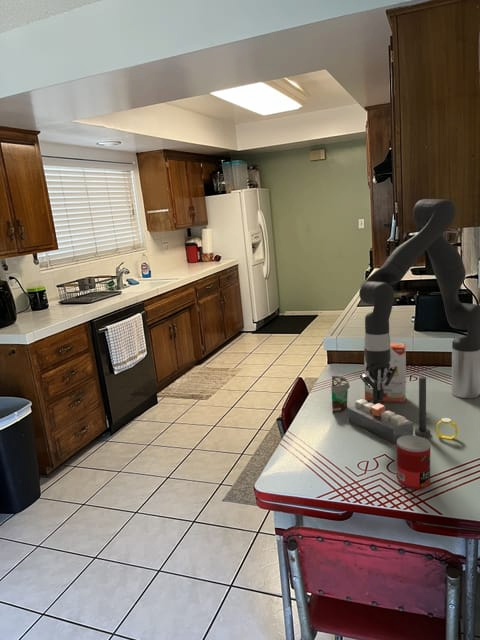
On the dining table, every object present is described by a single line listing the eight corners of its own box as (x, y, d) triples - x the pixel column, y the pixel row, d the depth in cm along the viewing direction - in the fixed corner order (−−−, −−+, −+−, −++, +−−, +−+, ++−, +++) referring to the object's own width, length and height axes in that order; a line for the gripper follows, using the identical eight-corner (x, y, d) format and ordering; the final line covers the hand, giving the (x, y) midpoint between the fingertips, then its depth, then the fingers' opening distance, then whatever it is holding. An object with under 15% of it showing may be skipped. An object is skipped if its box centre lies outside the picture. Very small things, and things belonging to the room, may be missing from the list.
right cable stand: (422, 429, 149) (421, 374, 146) (433, 434, 146) (433, 378, 142) (411, 433, 147) (411, 377, 144) (423, 438, 144) (423, 381, 140)
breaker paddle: (379, 409, 152) (378, 403, 152) (385, 412, 150) (384, 405, 149) (372, 413, 151) (371, 407, 151) (378, 416, 149) (377, 409, 148)
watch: (435, 439, 143) (434, 420, 142) (437, 435, 146) (435, 417, 145) (457, 441, 140) (456, 422, 139) (458, 437, 142) (457, 418, 141)
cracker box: (364, 401, 175) (363, 345, 170) (366, 395, 180) (365, 341, 176) (405, 403, 170) (404, 346, 165) (406, 397, 175) (405, 342, 171)
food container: (350, 414, 164) (349, 387, 162) (332, 414, 166) (331, 387, 164) (350, 400, 176) (349, 375, 174) (333, 400, 178) (331, 375, 175)
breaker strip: (367, 416, 162) (366, 396, 161) (413, 437, 145) (412, 416, 143) (348, 422, 159) (347, 402, 157) (393, 445, 141) (393, 423, 140)
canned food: (426, 493, 117) (426, 451, 114) (393, 485, 121) (392, 445, 119) (433, 477, 123) (433, 438, 121) (401, 471, 127) (400, 432, 125)
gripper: (384, 340, 152) (385, 391, 156) (352, 348, 146) (354, 401, 150) (402, 344, 146) (403, 398, 149) (369, 353, 140) (370, 409, 143)
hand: (378, 399), depth 150 cm, fingers closed
